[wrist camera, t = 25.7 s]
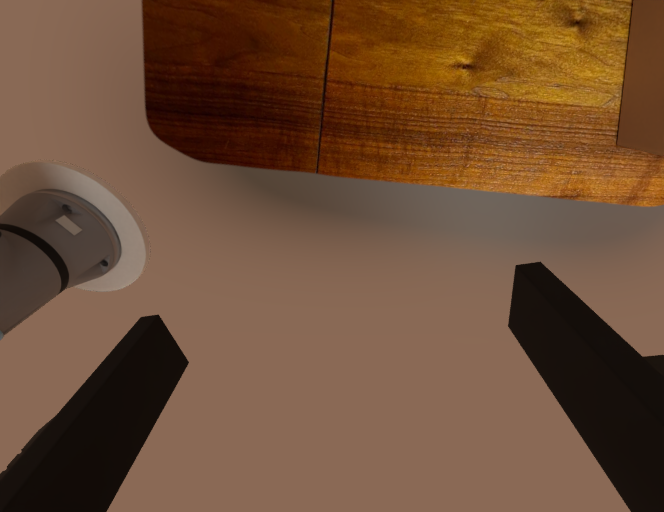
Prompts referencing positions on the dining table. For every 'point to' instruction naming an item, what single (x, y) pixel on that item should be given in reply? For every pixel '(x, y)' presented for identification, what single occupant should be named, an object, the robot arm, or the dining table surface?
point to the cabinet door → (644, 80)
